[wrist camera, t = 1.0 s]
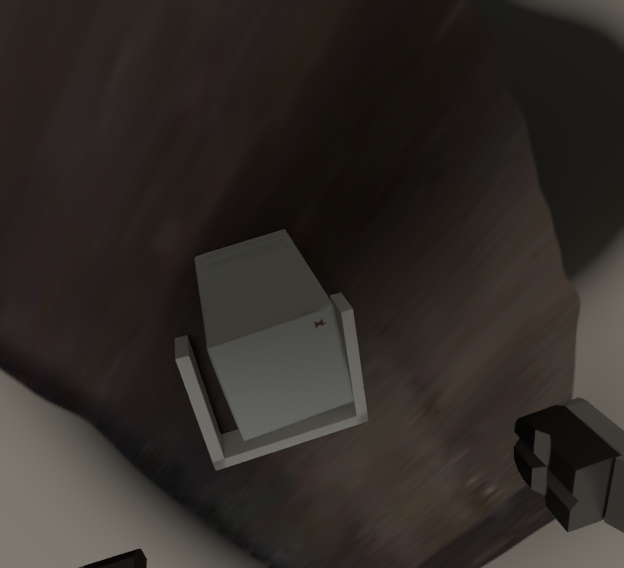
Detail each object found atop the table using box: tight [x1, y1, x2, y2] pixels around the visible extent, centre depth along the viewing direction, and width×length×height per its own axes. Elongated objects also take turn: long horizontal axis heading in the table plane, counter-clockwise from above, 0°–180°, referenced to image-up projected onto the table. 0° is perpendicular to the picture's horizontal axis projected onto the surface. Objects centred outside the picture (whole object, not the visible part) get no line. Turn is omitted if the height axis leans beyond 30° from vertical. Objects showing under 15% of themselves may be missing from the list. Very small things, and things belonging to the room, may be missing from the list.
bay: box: [175, 292, 368, 471], centre depth 41 cm, size 12×14×3 cm
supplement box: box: [195, 229, 354, 441], centre depth 33 cm, size 7×7×13 cm
